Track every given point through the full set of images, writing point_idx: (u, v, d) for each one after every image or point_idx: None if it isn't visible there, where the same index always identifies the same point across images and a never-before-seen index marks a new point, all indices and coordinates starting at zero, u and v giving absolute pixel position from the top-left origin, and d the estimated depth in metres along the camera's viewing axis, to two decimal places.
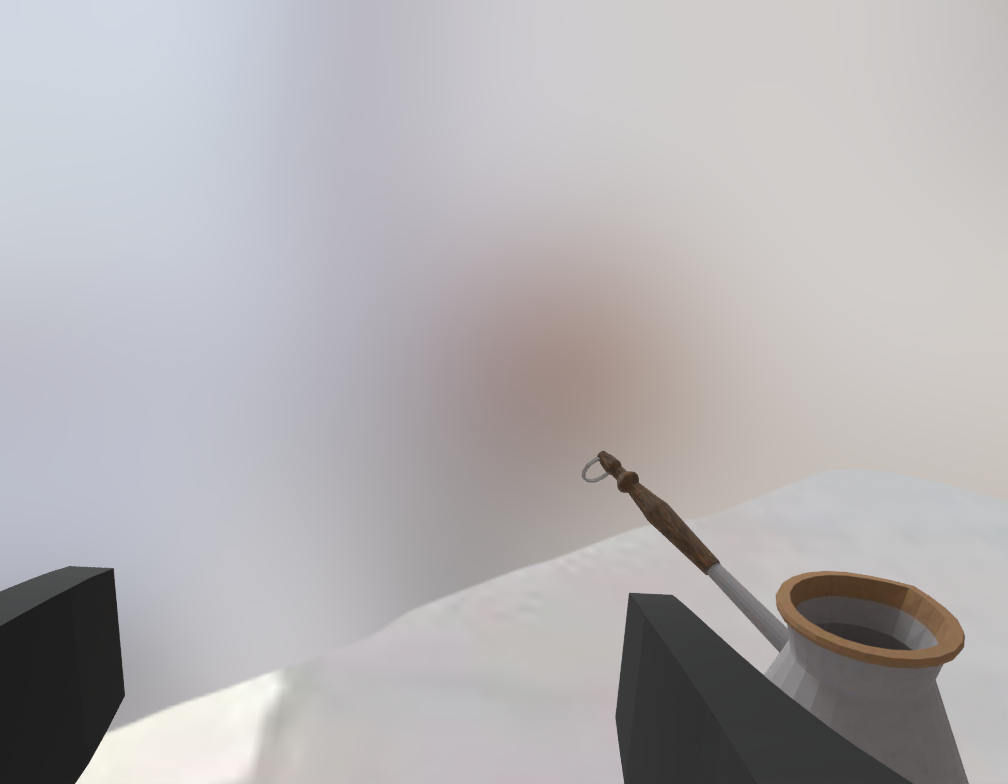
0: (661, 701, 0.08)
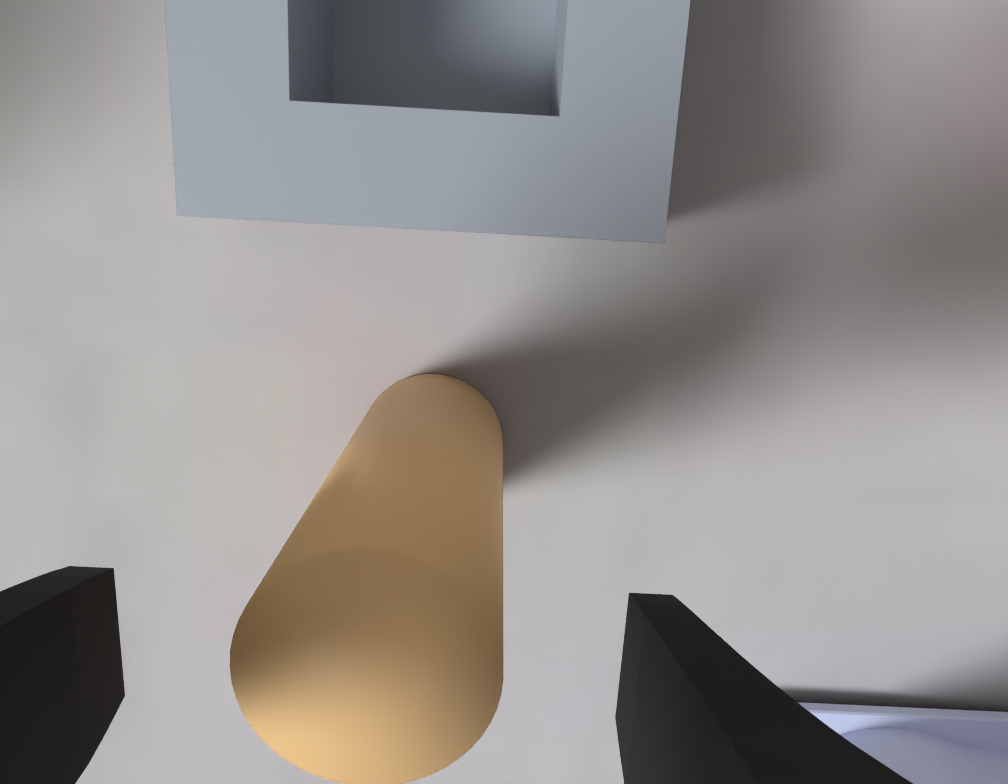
0: (662, 701, 0.08)
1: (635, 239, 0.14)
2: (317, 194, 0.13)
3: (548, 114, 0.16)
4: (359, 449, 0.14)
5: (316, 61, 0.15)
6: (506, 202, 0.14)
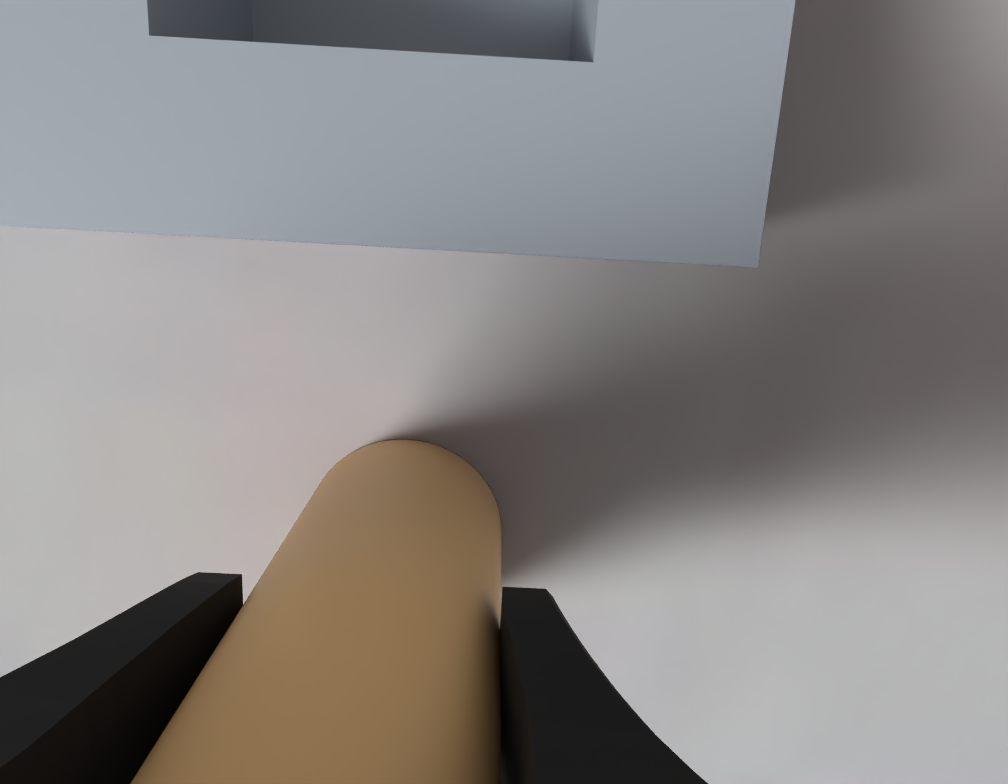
0: (508, 694, 0.08)
1: (712, 261, 0.09)
2: (201, 190, 0.08)
3: None
4: (270, 600, 0.08)
5: None
6: (505, 202, 0.08)
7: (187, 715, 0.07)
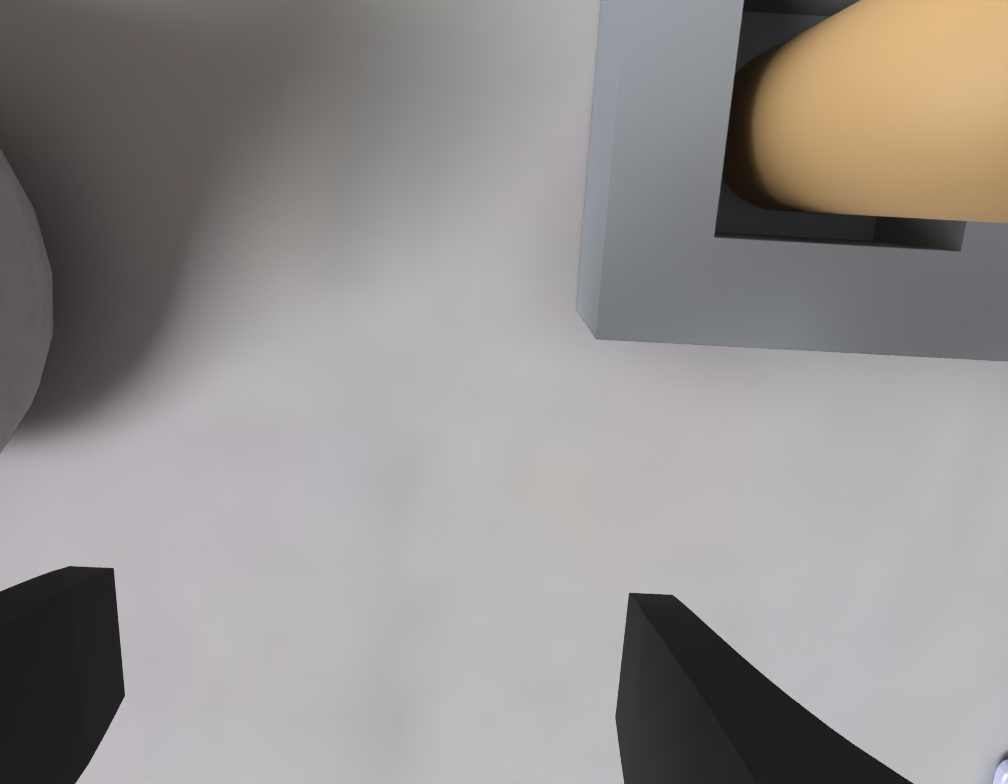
0: (661, 702, 0.08)
1: None
2: (728, 320, 0.15)
3: (875, 224, 0.18)
4: None
5: None
6: (900, 327, 0.15)
7: None
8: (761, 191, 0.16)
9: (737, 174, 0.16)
